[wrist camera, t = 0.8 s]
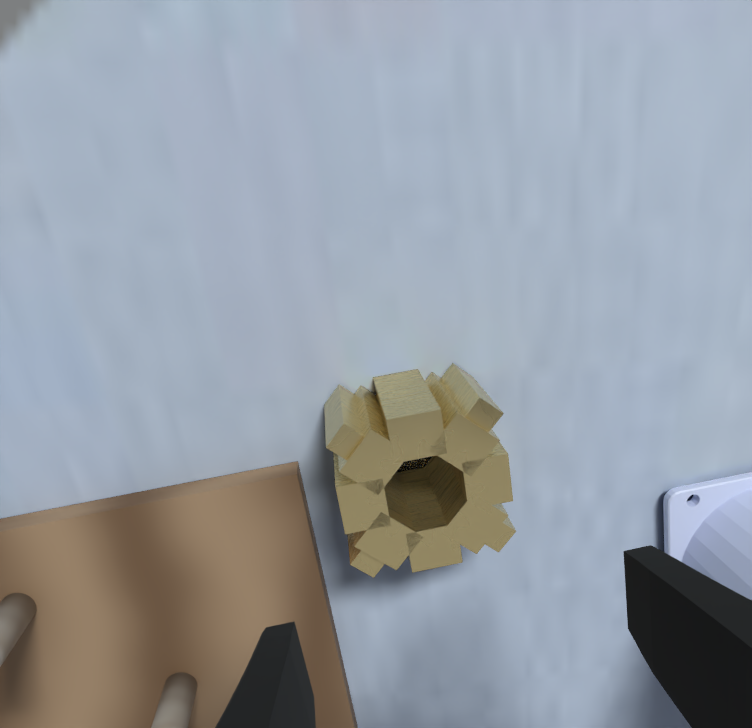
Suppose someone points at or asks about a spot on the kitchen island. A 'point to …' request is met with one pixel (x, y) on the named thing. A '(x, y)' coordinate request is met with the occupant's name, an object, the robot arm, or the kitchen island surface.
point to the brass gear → (418, 470)
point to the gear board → (161, 604)
